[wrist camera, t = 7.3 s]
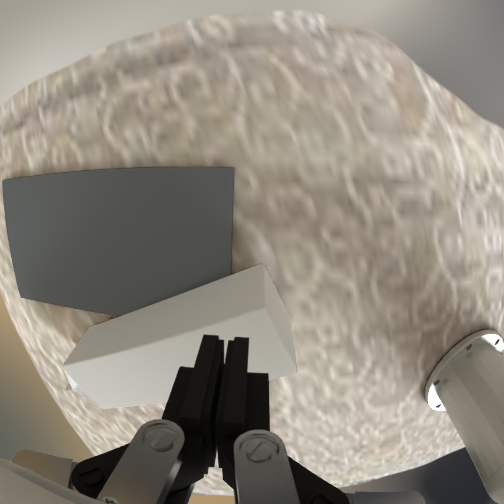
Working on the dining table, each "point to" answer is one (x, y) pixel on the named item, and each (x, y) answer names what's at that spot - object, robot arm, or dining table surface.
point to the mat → (119, 235)
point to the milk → (181, 340)
